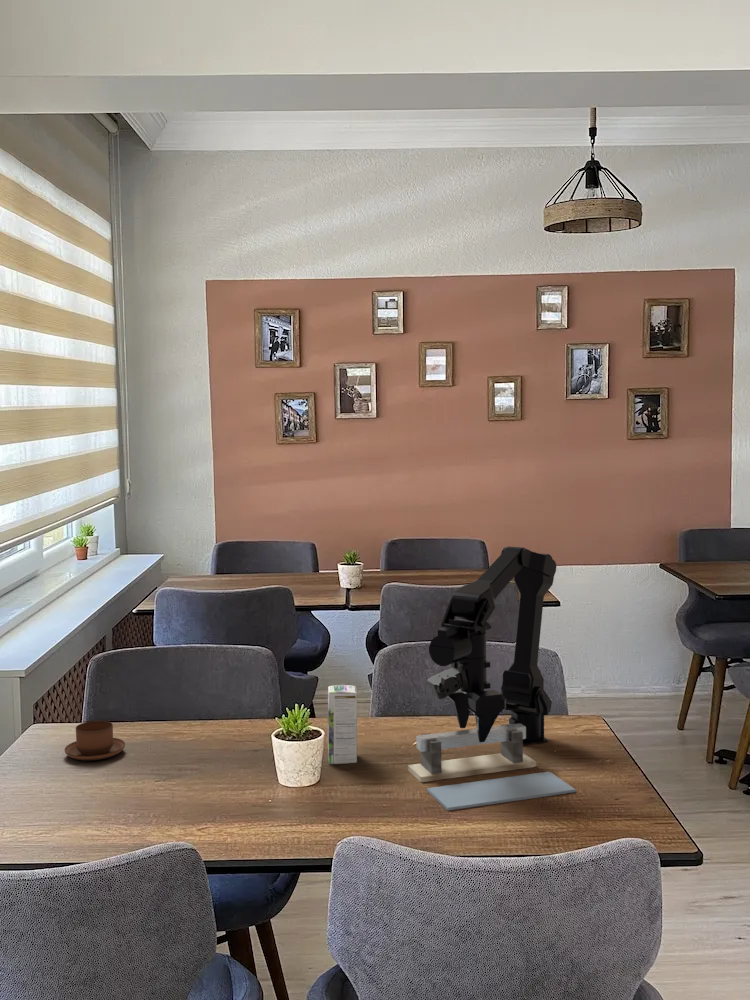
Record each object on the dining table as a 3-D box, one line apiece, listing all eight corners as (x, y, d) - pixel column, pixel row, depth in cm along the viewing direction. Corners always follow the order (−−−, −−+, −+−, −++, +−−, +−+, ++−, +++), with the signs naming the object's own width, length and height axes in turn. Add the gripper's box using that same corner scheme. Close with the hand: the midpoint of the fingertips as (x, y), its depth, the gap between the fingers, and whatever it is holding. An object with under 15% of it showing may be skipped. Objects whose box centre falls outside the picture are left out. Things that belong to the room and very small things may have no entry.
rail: (520, 735, 202) (520, 723, 202) (525, 738, 200) (525, 726, 200) (416, 748, 195) (416, 735, 195) (421, 751, 193) (420, 739, 193)
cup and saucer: (52, 761, 206) (51, 731, 206) (89, 743, 217) (88, 715, 217) (101, 768, 202) (100, 737, 201) (137, 749, 213) (136, 720, 212)
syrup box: (327, 755, 207) (326, 685, 206) (356, 754, 207) (355, 684, 206) (328, 764, 201) (327, 692, 200) (358, 763, 202) (357, 691, 201)
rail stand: (519, 755, 205) (519, 721, 204) (536, 766, 198) (535, 731, 198) (407, 770, 198) (407, 734, 197) (420, 782, 191) (420, 745, 190)
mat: (549, 774, 194) (549, 771, 194) (575, 792, 185) (575, 789, 185) (426, 790, 187) (426, 788, 186) (447, 810, 177) (447, 807, 177)
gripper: (415, 648, 203) (416, 725, 204) (451, 670, 185) (452, 754, 186) (466, 644, 206) (467, 719, 207) (507, 665, 188) (507, 747, 190)
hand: (472, 734), depth 198 cm, fingers open, 9 cm apart
